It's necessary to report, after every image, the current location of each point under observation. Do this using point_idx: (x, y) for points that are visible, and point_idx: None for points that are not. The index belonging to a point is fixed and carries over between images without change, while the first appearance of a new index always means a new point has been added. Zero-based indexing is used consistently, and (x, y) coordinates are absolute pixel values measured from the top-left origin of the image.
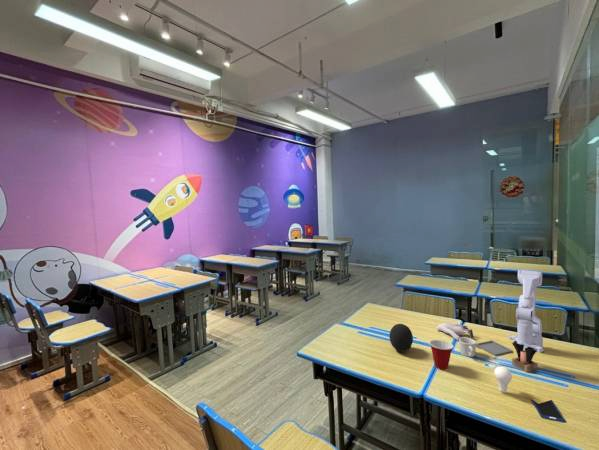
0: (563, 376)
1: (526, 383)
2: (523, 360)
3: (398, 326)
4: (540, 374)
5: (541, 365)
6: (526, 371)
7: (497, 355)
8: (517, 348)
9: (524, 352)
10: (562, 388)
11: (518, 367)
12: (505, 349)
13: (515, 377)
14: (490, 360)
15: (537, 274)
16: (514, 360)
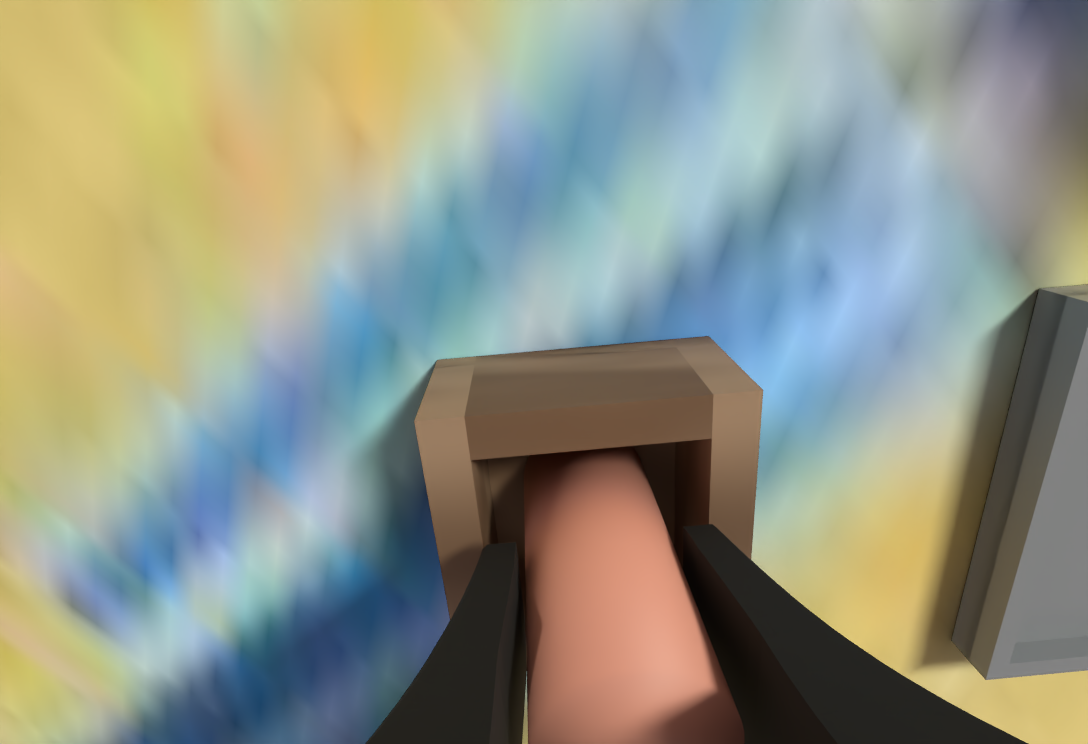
0: (295, 734)
1: (136, 52)
2: (571, 519)
3: None
4: (379, 533)
5: None
6: (437, 374)
7: (1042, 355)
8: (821, 717)
9: (617, 729)
10: (5, 508)
11: (587, 357)
12: (1068, 620)
13: (360, 22)
14: (1020, 80)
15: None
16: (698, 392)
